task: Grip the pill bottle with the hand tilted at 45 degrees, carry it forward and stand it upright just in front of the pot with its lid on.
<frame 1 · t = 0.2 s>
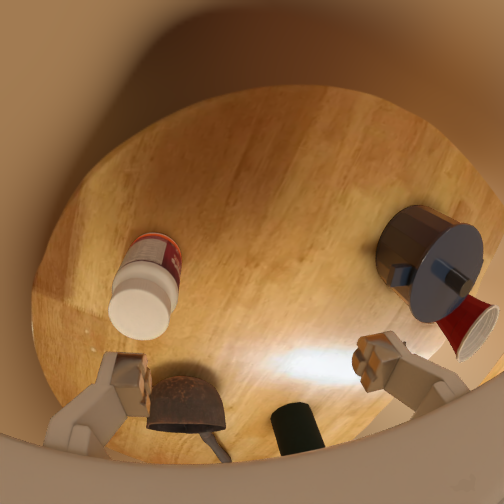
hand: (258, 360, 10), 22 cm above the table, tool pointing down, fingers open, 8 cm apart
pot: (410, 247, 37), on the table
plastic cup: (438, 296, 43), on the table
ladle: (207, 425, 47), on the table
wine bottle: (290, 416, 49), on the table
pot lid: (448, 274, 30), point 8 cm above the table, touching pot
pill bottle: (155, 255, 32), on the table
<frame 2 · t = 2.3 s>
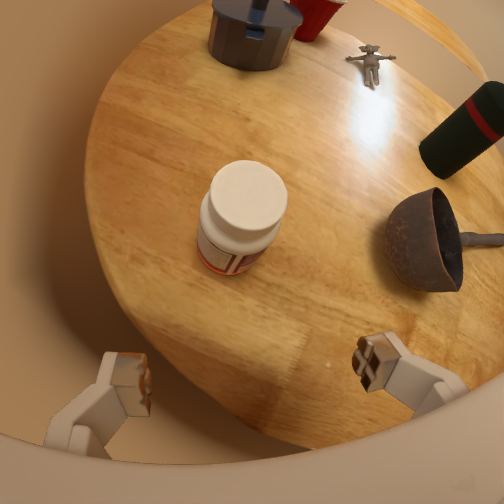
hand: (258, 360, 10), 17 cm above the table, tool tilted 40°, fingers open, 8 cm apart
pot: (246, 49, 39), on the table
plastic cup: (299, 34, 44), on the table
ladle: (458, 247, 37), on the table
wine bottle: (438, 160, 42), on the table
pot lid: (258, 9, 31), point 8 cm above the table, touching pot
pill bottle: (227, 246, 29), on the table
elephant figurine: (366, 75, 44), on the table
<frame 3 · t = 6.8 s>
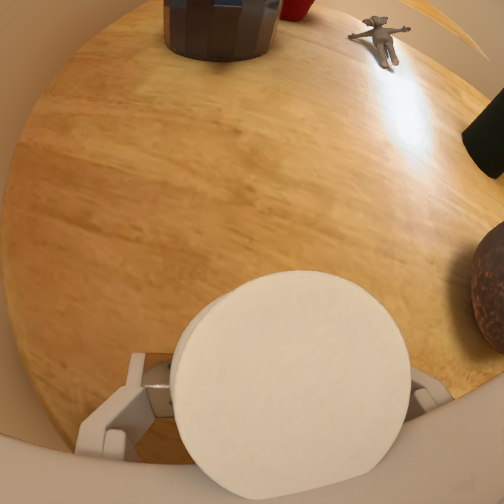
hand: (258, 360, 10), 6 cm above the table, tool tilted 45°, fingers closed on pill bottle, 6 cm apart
pot: (218, 36, 27), on the table
plastic cup: (284, 14, 33), on the table
wine bottle: (483, 154, 29), on the table
pill bottle: (241, 370, 16), on the table, touching gripper
elephant figurine: (377, 55, 32), on the table
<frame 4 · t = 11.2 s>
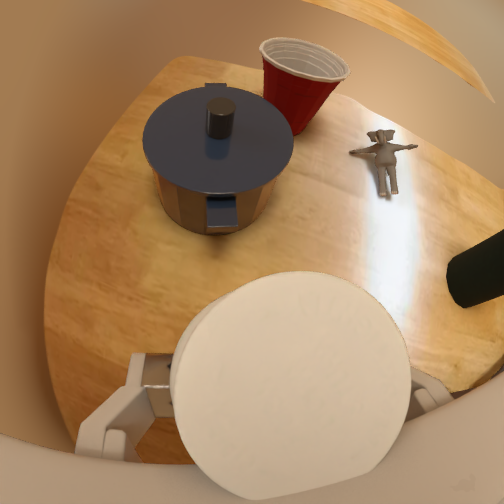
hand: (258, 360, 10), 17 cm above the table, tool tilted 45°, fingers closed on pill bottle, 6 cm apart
pot: (214, 184, 32), on the table
plastic cup: (283, 122, 38), on the table
wine bottle: (465, 279, 34), on the table
pot lid: (218, 133, 25), point 8 cm above the table, touching pot
pill bottle: (241, 370, 16), point 11 cm above the table, touching gripper
elephant figurine: (378, 172, 38), on the table
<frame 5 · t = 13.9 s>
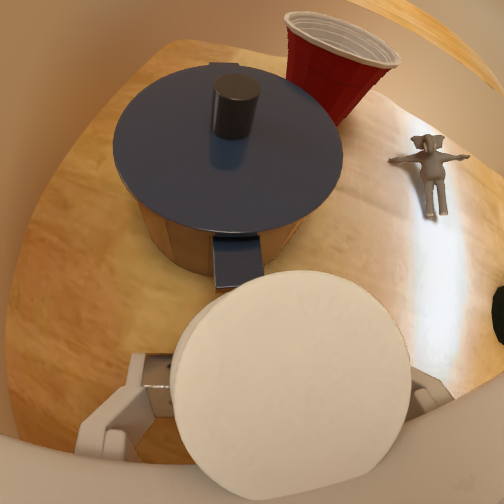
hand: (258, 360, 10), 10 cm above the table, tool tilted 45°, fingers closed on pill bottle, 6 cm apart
pot: (220, 202, 24), on the table
plastic cup: (307, 119, 30), on the table
pot lid: (230, 131, 16), point 8 cm above the table, touching pot
pill bottle: (241, 370, 16), point 4 cm above the table, touching gripper
elephant figurine: (421, 186, 29), on the table
when the fingers open (6 cm above the table, at t = 15.8 s): pill bottle stays where it is, on the table.
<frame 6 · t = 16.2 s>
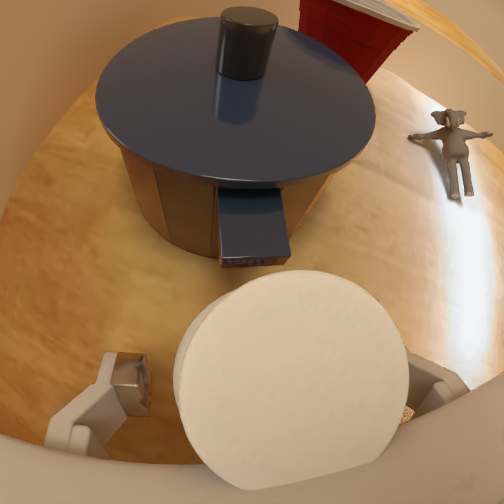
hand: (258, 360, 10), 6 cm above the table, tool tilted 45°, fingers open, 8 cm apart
pot: (224, 173, 20), on the table
plastic cup: (319, 91, 26), on the table
pot lid: (239, 75, 12), point 8 cm above the table, touching pot
pill bottle: (242, 369, 16), on the table
elephant figurine: (442, 166, 25), on the table
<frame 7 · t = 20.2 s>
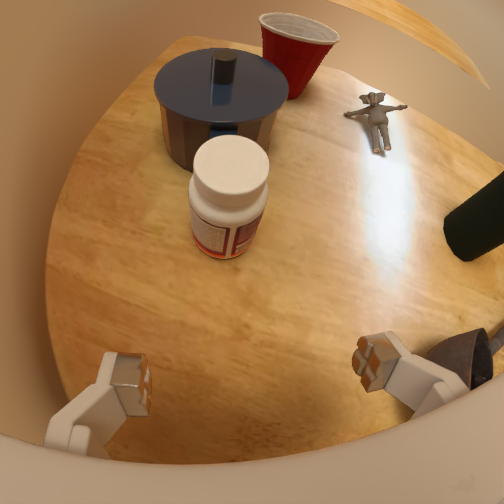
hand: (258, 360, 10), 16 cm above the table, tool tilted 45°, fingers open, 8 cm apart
pot: (216, 135, 34), on the table
plastic cup: (281, 88, 39), on the table
ladle: (486, 340, 29), on the table
wine bottle: (463, 235, 35), on the table
pot lid: (221, 81, 26), point 8 cm above the table, touching pot
pill bottle: (222, 232, 29), on the table
elephant figurine: (372, 133, 39), on the table
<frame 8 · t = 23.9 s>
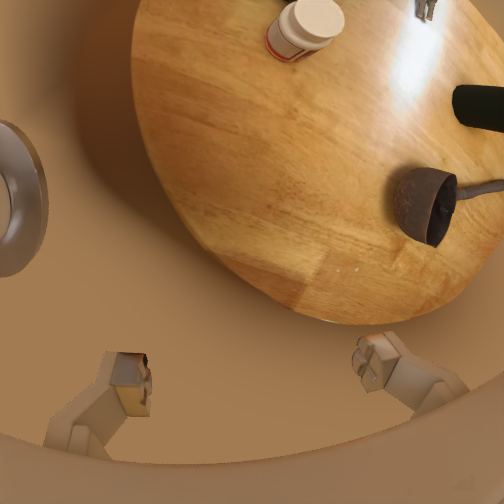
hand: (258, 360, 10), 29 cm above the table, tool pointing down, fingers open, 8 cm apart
ladle: (458, 188, 43), on the table
wine bottle: (467, 105, 36), on the table
pill bottle: (287, 42, 30), on the table
elephant figurine: (420, 1, 27), on the table
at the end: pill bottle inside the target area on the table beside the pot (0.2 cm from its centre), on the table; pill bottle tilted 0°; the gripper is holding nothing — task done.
